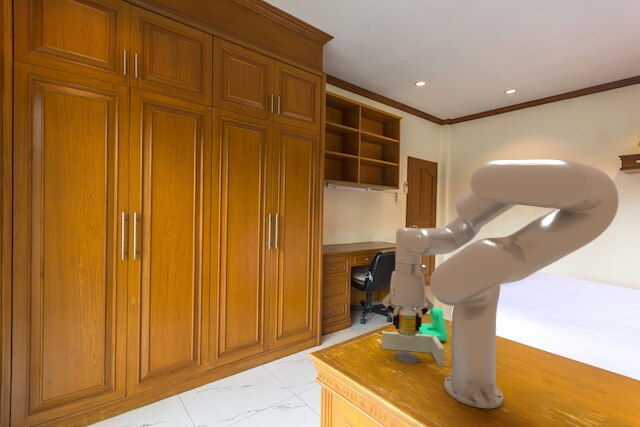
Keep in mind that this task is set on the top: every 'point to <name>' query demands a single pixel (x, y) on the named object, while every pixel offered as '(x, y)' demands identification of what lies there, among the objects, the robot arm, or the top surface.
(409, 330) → the supplement bottle
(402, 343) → the corner walls
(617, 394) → the top surface
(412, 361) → the pad
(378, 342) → the top surface
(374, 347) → the top surface
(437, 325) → the camera mount
